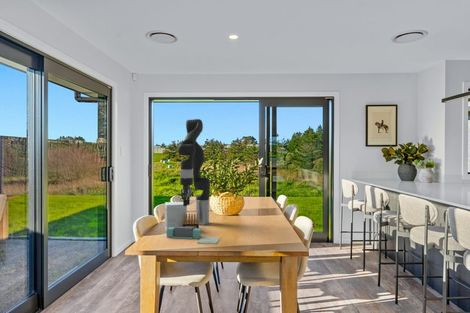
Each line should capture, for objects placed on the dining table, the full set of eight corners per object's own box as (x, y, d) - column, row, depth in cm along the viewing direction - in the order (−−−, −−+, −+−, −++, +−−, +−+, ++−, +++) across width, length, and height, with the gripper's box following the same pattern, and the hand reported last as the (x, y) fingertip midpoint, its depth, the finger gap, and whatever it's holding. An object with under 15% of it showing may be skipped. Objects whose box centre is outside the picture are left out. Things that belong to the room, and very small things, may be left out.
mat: (202, 237, 196) (202, 236, 196) (220, 238, 194) (220, 237, 194) (197, 243, 184) (197, 242, 184) (216, 244, 182) (216, 243, 182)
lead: (176, 236, 200) (176, 226, 200) (193, 236, 199) (193, 227, 199) (174, 237, 196) (174, 227, 196) (192, 238, 195) (192, 228, 195)
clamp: (170, 234, 203) (170, 226, 203) (201, 236, 200) (201, 228, 200) (165, 237, 195) (165, 229, 195) (198, 239, 192) (198, 230, 192)
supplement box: (183, 226, 226) (183, 201, 226) (186, 230, 214) (187, 204, 214) (164, 227, 222) (164, 202, 222) (166, 232, 210) (166, 205, 210)
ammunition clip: (182, 232, 210) (182, 213, 210) (182, 231, 212) (182, 213, 212) (198, 231, 211) (198, 213, 211) (198, 231, 213) (198, 212, 213)
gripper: (184, 176, 204) (184, 203, 204) (176, 177, 190) (176, 207, 190) (196, 176, 203) (195, 203, 203) (189, 177, 189) (188, 207, 189)
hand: (186, 205), depth 196 cm, fingers open, 4 cm apart
